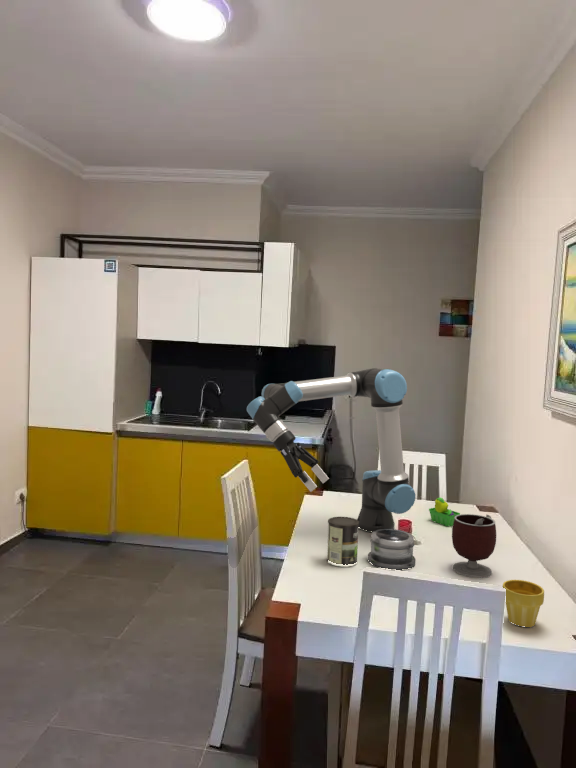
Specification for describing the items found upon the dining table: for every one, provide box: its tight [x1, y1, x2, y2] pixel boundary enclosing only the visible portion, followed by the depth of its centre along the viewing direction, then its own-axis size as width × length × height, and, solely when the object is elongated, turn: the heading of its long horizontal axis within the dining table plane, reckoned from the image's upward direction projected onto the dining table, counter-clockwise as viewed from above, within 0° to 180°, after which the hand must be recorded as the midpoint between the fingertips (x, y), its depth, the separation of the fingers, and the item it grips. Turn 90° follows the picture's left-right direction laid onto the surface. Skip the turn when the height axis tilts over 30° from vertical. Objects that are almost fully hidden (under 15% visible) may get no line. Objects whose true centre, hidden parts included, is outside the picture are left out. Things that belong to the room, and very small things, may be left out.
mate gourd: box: [451, 513, 497, 579], centre depth 192 cm, size 16×14×20 cm
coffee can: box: [326, 516, 359, 565], centre depth 197 cm, size 10×10×14 cm
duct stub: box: [367, 528, 417, 571], centre depth 199 cm, size 16×16×9 cm
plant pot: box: [502, 579, 545, 628], centre depth 157 cm, size 10×10×10 cm
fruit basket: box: [428, 497, 461, 527], centre depth 246 cm, size 11×9×11 cm
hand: (320, 485), depth 197 cm, fingers open, 13 cm apart
